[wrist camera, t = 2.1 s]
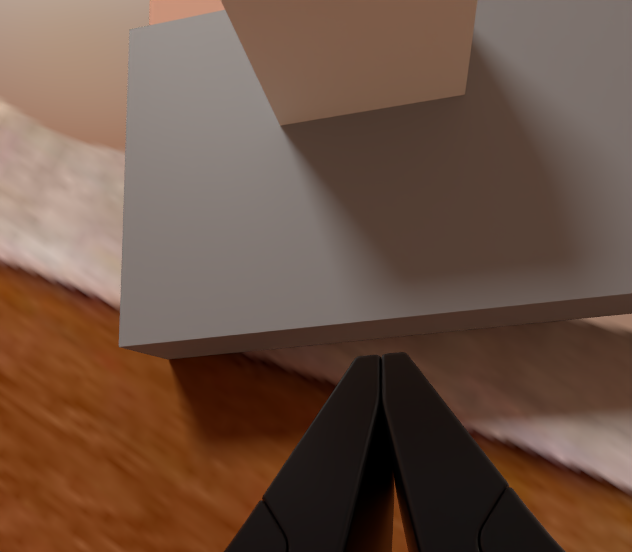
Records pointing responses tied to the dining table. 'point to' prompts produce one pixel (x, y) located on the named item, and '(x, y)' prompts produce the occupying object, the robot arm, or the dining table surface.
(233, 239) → the deck
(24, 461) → the dining table surface
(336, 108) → the card box
